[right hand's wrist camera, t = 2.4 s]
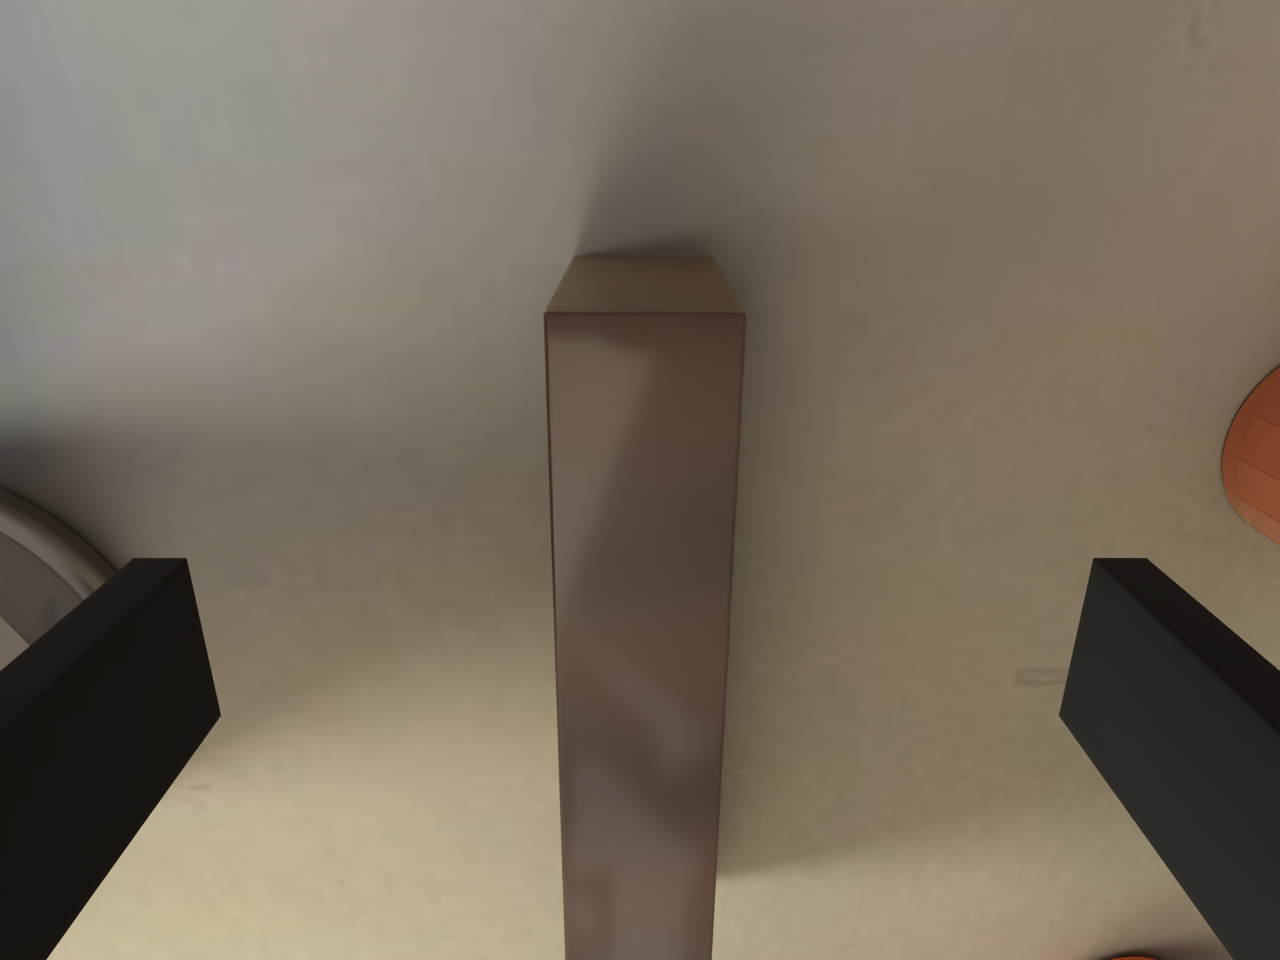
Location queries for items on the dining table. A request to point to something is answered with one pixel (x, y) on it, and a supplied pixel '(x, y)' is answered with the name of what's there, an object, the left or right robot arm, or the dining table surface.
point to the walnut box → (642, 593)
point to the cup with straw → (1133, 958)
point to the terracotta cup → (1256, 459)
